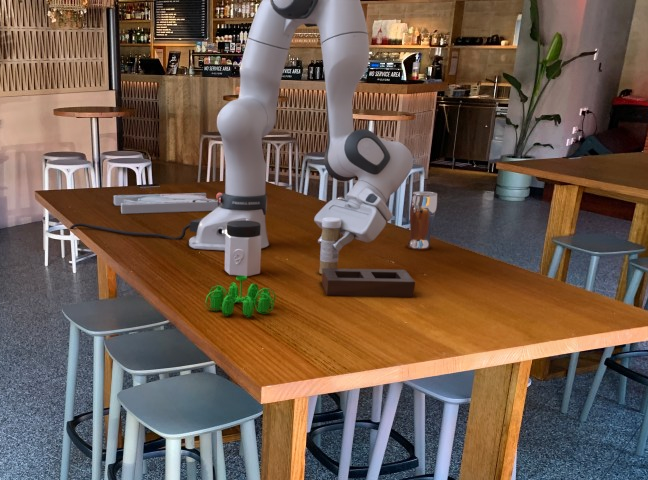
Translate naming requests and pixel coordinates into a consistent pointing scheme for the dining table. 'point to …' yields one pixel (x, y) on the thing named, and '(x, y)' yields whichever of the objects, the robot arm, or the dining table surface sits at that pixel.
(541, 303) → the dining table surface
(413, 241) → the beer glass
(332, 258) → the sprinkles bottle
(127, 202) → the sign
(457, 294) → the dining table surface
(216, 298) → the chandelier
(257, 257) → the jar
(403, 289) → the holder
